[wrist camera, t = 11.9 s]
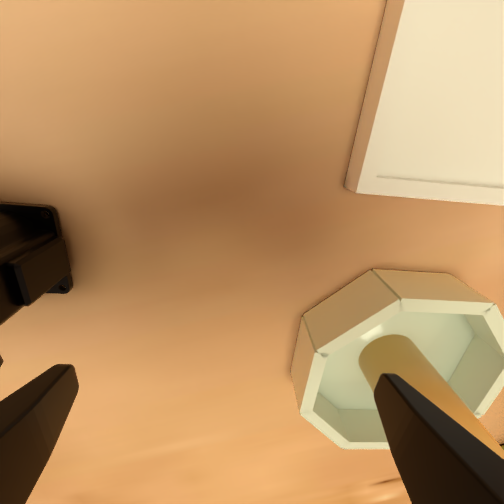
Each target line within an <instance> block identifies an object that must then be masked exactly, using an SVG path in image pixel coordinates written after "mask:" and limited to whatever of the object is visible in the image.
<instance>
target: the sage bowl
mask: <svg viewBox="0 0 504 504" xmlns="http://www.w3.org/2000/svg"><path fill="white" fill-rule="evenodd" d="M303 315H304V316H302V318H301V323H300V327H299V332H298V337H297V342H296V346H295V351H294V356H293V361H292V365H291V370H290V373H291V377H292V382H293V386H294V391H295V395H296V400H297V404H298V409H299V413H300V415H301V416H302V417H304V418H305V419H306V420H307V421H309V422H310V423H311V424H312V425H313V426H315V427H316V428H317V429H318V430H319V431H321V432H322V433H323V434H324V435H326V436H327V437H328V438H329V439H330V440H332V441H333V442H334V443H335V444H337V445H338V446H339V447H340V448H341V449H342V448H343V449H390V447H389V444H388V441H387V438H386V435H385V432H384V429H383V425H382V422H381V419H380V416H379V413H378V410H377V407H376V403H375V400H374V393H373V391H372V390H371V388H370V386H369V384H368V382H367V380H366V378H365V376H364V374H363V372H362V370H361V369H360V366H359V356H360V353H361V352H362V350H363V349H364V348H365V346H367V345H368V344H369V343H370V342H372V341H373V340H375V339H377V338H379V337H382V336H385V335H392V334H397V335H403V336H406V337H408V338H409V339H410V340H412V342H413V343H414V344H415V345H416V346H417V348H418V349H419V350H420V351H421V352H422V353H423V355H424V356H425V357H426V358H427V359H428V361H429V362H430V363H431V364H432V365H433V367H434V368H435V369H436V370H437V371H438V373H439V374H440V375H441V376H442V377H443V378H444V380H445V381H446V382H447V383H448V384H449V386H450V387H451V388H452V389H453V390H454V392H455V393H456V394H457V395H458V396H459V397H460V399H461V400H462V401H463V402H464V403H465V405H466V406H467V407H468V408H469V409H470V411H471V412H472V413H473V414H474V415H475V417H476V418H477V419H478V418H480V417H482V416H481V415H484V414H485V413H486V411H487V410H488V408H489V407H490V405H491V404H492V403H493V401H494V400H495V398H496V397H497V395H498V394H499V392H500V391H501V390H502V388H503V387H504V319H503V317H502V315H501V313H500V311H499V309H498V307H497V305H496V304H495V303H493V302H492V301H490V300H489V299H487V298H486V297H484V296H483V295H481V294H480V293H478V292H477V291H475V290H474V289H472V288H471V287H469V286H468V285H466V284H465V283H463V282H462V281H460V280H459V279H457V278H456V277H454V276H453V275H451V274H449V273H433V272H416V271H400V270H383V269H373V270H372V271H371V270H369V271H367V272H366V273H364V274H363V275H361V276H360V277H358V278H357V279H355V280H354V281H352V282H351V283H349V284H348V285H346V286H345V287H343V288H342V289H340V290H339V291H337V292H336V293H334V294H333V295H331V296H330V297H328V298H327V299H325V300H324V301H322V302H321V303H319V304H318V305H316V306H315V307H313V308H312V309H310V310H309V311H307V312H306V313H304V314H303Z"/></svg>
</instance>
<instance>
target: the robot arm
mask: <svg viewBox="0 0 504 504" xmlns="http://www.w3.org/2000/svg"><path fill="white" fill-rule="evenodd" d="M45 211H47V212H48V213H49V216H47V215H46V214H45ZM70 271H71V270H70V265H69V260H68V256H67V251H66V246H65V242H64V239H63V238H62V234H61V229H60V224H59V220H58V215H57V212H56V210H55V209H54V208H53V207H51V206H48V205H36V204H23V203H9V202H0V325H2V324H3V323H4V322H5V321H6V320H8V319H9V318H10V317H11V316H13V315H14V314H15V313H16V312H18V311H19V310H20V309H21V308H22V307H24V306H30V305H31V304H32V303H34V302H35V301H36V300H37V299H38V298H40V297H41V296H42V295H43V294H44V293H60V294H65V293H68V292H69V291H70V290H71V289H72V288H73V284H72V280H71V275H70ZM62 285H64V286H65V287H66V288H64V287H63V286H62ZM2 363H3V359H2V357H1V356H0V367H1V365H2ZM78 388H79V384H78V380H77V376H76V372H75V368H74V366H73V365H71V364H57V365H54V366H53V367H51V368H50V369H48V370H47V371H45V372H44V373H42V374H41V375H39V376H38V377H36V378H35V379H33V380H32V381H30V382H29V383H27V384H26V385H24V386H23V387H21V388H20V389H18V390H17V391H15V392H14V393H12V394H11V395H9V396H8V397H6V398H5V399H3V400H2V401H0V504H25V503H26V501H27V499H28V497H29V496H30V494H31V492H32V490H33V488H34V486H35V484H36V482H37V481H38V479H39V477H40V475H41V473H42V471H43V469H44V467H45V466H46V464H47V462H48V460H49V458H50V456H51V454H52V451H53V449H54V447H55V445H56V442H57V440H58V438H59V435H60V433H61V431H62V428H63V426H64V424H65V421H66V419H67V417H68V414H69V412H70V410H71V407H72V405H73V402H74V400H75V398H76V395H77V393H78ZM374 400H375V403H376V407H377V410H378V413H379V416H380V419H381V422H382V425H383V429H384V432H385V435H386V438H387V441H388V444H389V447H390V450H391V453H392V456H393V458H394V461H395V464H396V466H397V468H398V471H399V473H400V476H401V478H402V481H403V483H404V485H405V488H406V490H407V493H408V495H409V497H410V500H411V502H412V504H504V459H503V458H501V457H500V456H499V455H498V454H496V453H495V452H494V451H493V450H491V449H490V448H489V447H488V446H486V445H485V444H484V443H483V442H481V441H480V440H479V439H478V438H476V437H475V436H474V435H473V434H471V433H470V432H469V431H468V430H466V429H465V428H464V427H463V426H461V425H460V424H459V423H458V422H456V421H455V420H454V419H452V418H451V417H450V416H449V415H447V414H446V413H445V412H444V411H442V410H441V409H440V408H439V407H437V406H436V405H435V404H434V403H432V402H431V401H430V400H429V399H427V398H426V397H425V396H424V395H422V394H421V393H420V392H419V391H417V390H416V389H415V388H414V387H412V386H411V385H410V384H409V383H407V382H406V381H405V380H404V379H402V378H401V377H400V376H398V375H397V374H395V373H382V374H381V375H380V377H379V379H378V382H377V384H376V387H375V389H374Z"/></svg>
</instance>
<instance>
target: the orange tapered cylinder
mask: <svg viewBox="0 0 504 504" xmlns="http://www.w3.org/2000/svg"><path fill="white" fill-rule="evenodd" d="M359 366H360V369H361V370H362V372H363V374H364V376H365V378H366V380H367V382H368V384H369V386H370V388H371V390H372V391H373V393H374V389H375V387H376V384H377V382H378V379H379V377H380V375H381V374H382V373H395V374H397V375H398V376H400V377H401V378H402V379H404V380H405V381H406V382H407V383H409V384H410V385H411V386H412V387H414V388H415V389H416V390H417V391H419V392H420V393H421V394H422V395H424V396H425V397H426V398H427V399H429V400H430V401H431V402H432V403H434V404H435V405H436V406H437V407H439V408H440V409H441V410H442V411H444V412H445V413H446V414H447V415H449V416H450V417H451V418H452V419H454V420H455V421H456V422H458V423H459V424H460V425H461V426H463V427H464V428H465V429H466V430H468V431H469V432H470V433H471V434H473V435H474V436H475V437H476V438H478V439H479V440H480V441H481V442H483V443H484V444H485V445H486V446H488V447H489V448H490V449H491V450H493V451H494V452H495V453H496V454H498V455H499V456H500V457H501V458H503V459H504V450H503V449H502V447H501V446H500V445H499V444H498V443H497V441H496V440H495V439H494V438H493V437H492V436H491V434H490V433H489V432H488V431H487V430H486V428H485V427H484V426H483V425H482V424H481V422H480V421H479V420H478V419H477V418H476V417H475V415H474V414H473V413H472V412H471V411H470V409H469V408H468V407H467V406H466V405H465V403H464V402H463V401H462V400H461V399H460V397H459V396H458V395H457V394H456V393H455V392H454V390H453V389H452V388H451V387H450V386H449V384H448V383H447V382H446V381H445V380H444V378H443V377H442V376H441V375H440V374H439V373H438V371H437V370H436V369H435V368H434V367H433V365H432V364H431V363H430V362H429V361H428V359H427V358H426V357H425V356H424V355H423V353H422V352H421V351H420V350H419V349H418V348H417V346H416V345H415V344H414V343H413V342H412V340H410V339H409V338H408V337H406V336H403V335H397V334H392V335H385V336H382V337H379V338H377V339H375V340H373V341H372V342H370V343H369V344H368V345H367V346H365V348H364V349H363V350H362V352H361V353H360V356H359Z"/></svg>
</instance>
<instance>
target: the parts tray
mask: <svg viewBox="0 0 504 504" xmlns="http://www.w3.org/2000/svg"><path fill="white" fill-rule="evenodd" d="M344 187H345V188H347V189H349V190H351V191H353V192H355V193H361V194H373V195H385V196H396V197H408V198H420V199H431V200H443V201H455V202H466V203H478V204H490V205H501V206H504V0H387V3H386V7H385V12H384V16H383V20H382V24H381V29H380V33H379V37H378V42H377V46H376V50H375V55H374V59H373V63H372V67H371V72H370V76H369V80H368V85H367V89H366V93H365V98H364V102H363V106H362V110H361V115H360V119H359V123H358V128H357V132H356V136H355V140H354V145H353V149H352V153H351V158H350V162H349V166H348V171H347V175H346V179H345V183H344Z"/></svg>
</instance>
